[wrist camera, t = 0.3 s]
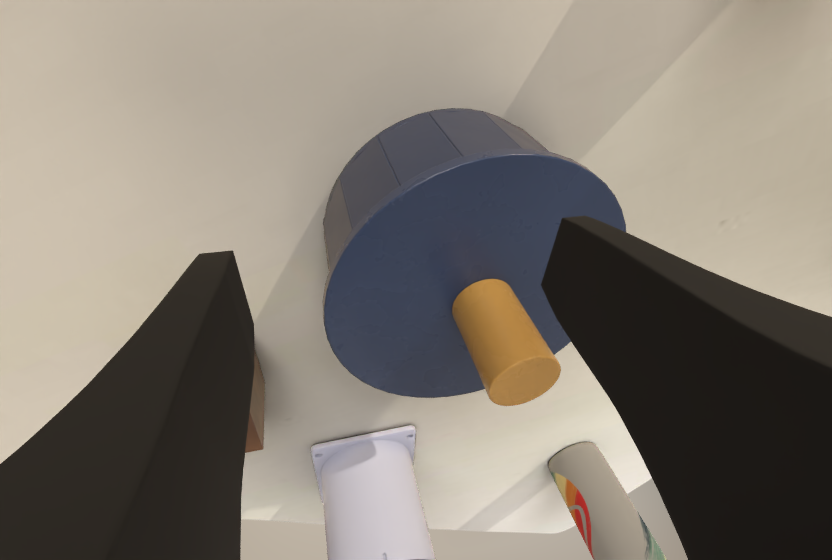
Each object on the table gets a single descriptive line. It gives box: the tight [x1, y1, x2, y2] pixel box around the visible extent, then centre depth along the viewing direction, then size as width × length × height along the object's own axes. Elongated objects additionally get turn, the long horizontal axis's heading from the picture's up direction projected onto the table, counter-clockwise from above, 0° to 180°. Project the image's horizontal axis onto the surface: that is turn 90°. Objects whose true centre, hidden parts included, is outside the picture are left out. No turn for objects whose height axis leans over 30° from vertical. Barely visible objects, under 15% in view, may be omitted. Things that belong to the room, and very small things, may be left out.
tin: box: [323, 108, 549, 271], centre depth 19 cm, size 12×12×5 cm
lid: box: [323, 149, 626, 406], centre depth 16 cm, size 13×13×5 cm
